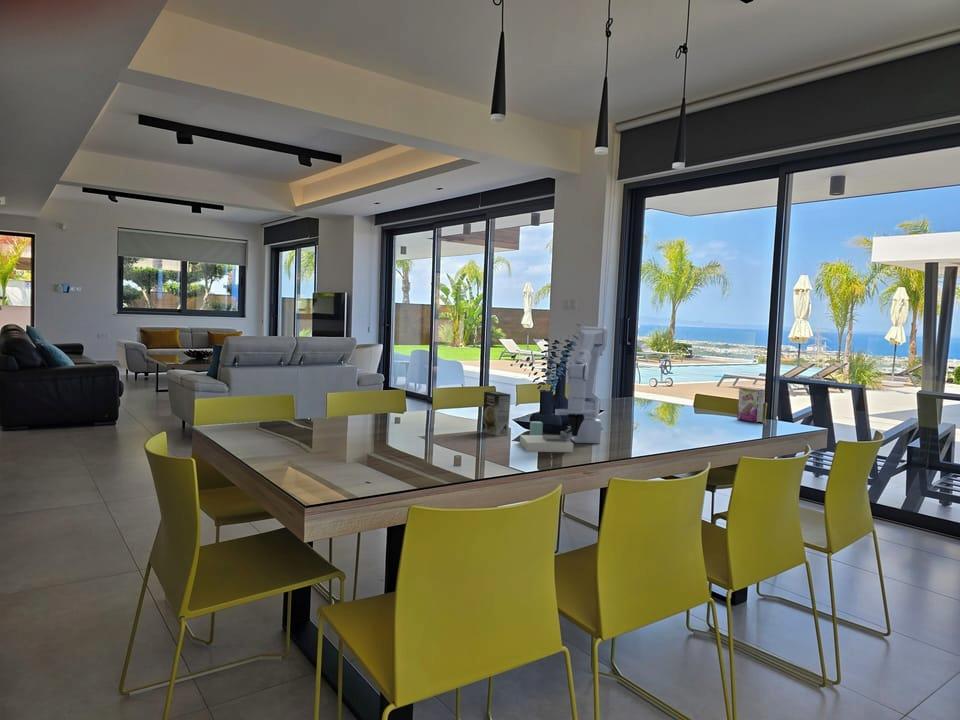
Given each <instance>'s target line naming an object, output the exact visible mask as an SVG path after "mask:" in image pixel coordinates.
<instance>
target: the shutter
mask: <svg viewBox="0 0 960 720" xmlns="http://www.w3.org/2000/svg"><path fill="white" fill-rule="evenodd" d="M542 436H543V438H544V439H545V440H546V441H567V439H568V440H569V434H568V433H567V432H566V431H564V430H561V431H560V434H542Z"/></svg>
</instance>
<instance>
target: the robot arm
mask: <svg viewBox="0 0 960 720" xmlns="http://www.w3.org/2000/svg"><path fill="white" fill-rule="evenodd" d="M608 334H609V333H608V328H607V327H606V326H601V327H600V326H585V325H582V326H581V327H580V329H579V333H578V335H579V342H580V345H581V347H580V349H578V350H577V351H576V354H575V356H574V358H573V361H572V363H571V364H569V365H568V367H567V384H568V401H567V408H555V409H554V411H555V412H554V415H555V416H566V418H567V420H568V423H569V425H570V430H571V435H572V436H573V437H570V440H572V441H573V442H574V443H577V444H601V443H602V442H601V432H602V422H601V419H600V418H598V417H599V415H600V407H601V406H600V405H601V401H600V398H599V396H598V395H597V394H596V393H595V388H596V381H597V375H598V368H599V361H600V356H601V353H602V352H604V351H606V347H607V343H608V342H607V341H608Z"/></svg>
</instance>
